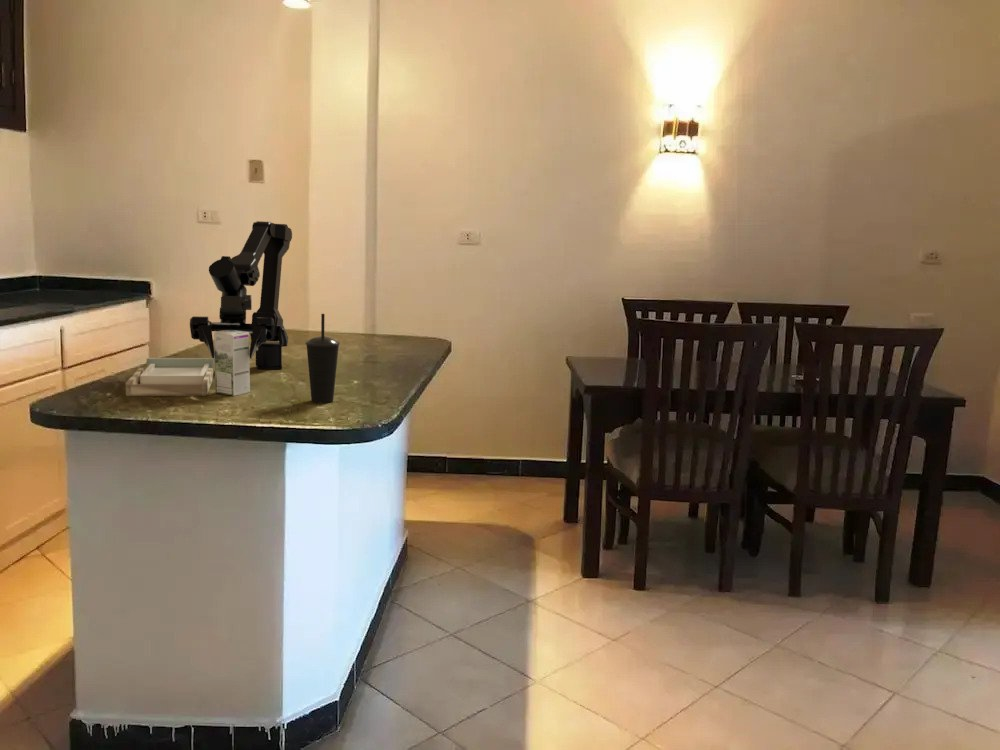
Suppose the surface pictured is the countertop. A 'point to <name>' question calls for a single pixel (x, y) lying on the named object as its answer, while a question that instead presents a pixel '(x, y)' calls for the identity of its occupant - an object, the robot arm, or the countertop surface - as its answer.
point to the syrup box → (232, 362)
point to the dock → (167, 387)
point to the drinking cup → (322, 366)
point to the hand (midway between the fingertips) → (231, 357)
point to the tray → (176, 370)
